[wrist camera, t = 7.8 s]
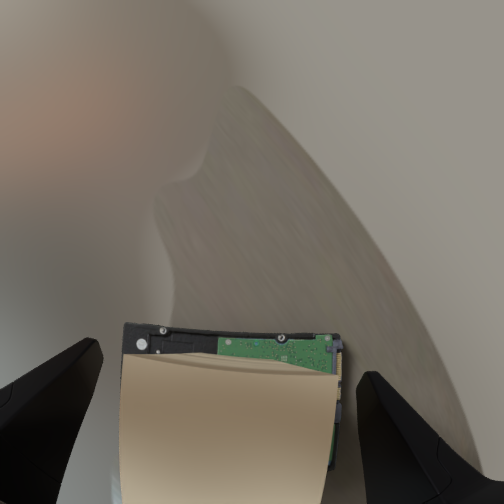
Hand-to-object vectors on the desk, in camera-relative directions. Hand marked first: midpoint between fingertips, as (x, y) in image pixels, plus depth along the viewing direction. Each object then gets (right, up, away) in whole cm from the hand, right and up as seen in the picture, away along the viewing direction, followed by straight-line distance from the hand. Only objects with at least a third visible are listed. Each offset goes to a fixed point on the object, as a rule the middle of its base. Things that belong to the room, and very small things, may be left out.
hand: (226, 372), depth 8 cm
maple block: (0, -5, +7) cm, 9 cm away
